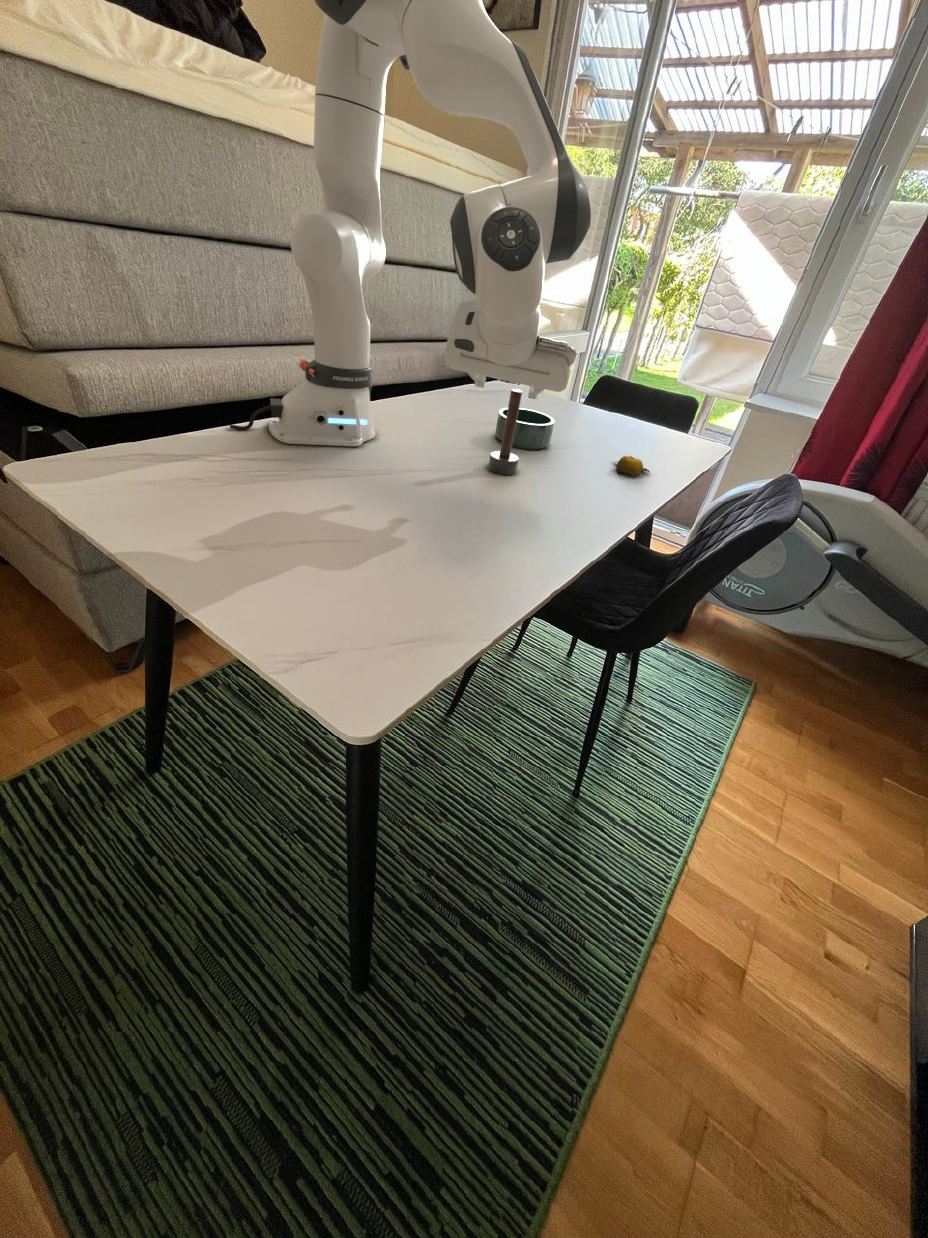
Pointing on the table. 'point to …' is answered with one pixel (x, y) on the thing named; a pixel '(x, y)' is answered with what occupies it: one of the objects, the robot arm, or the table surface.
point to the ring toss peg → (507, 440)
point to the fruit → (630, 465)
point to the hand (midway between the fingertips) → (506, 389)
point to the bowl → (527, 429)
